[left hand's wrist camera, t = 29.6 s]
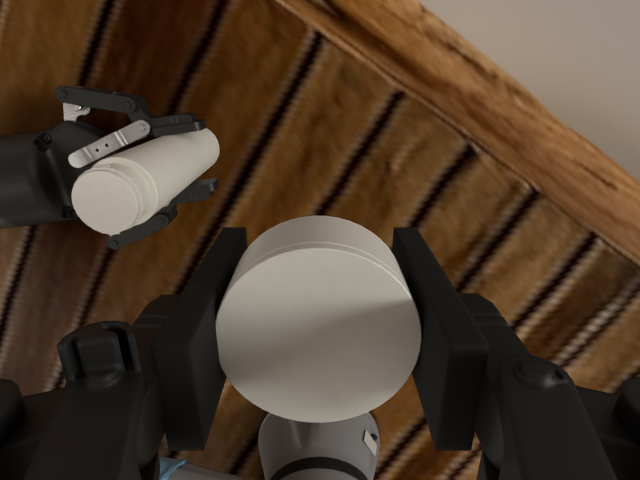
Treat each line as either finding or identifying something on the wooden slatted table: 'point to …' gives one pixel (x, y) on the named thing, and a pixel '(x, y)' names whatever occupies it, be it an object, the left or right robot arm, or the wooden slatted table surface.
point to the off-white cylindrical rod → (141, 180)
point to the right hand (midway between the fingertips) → (209, 155)
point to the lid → (318, 321)
